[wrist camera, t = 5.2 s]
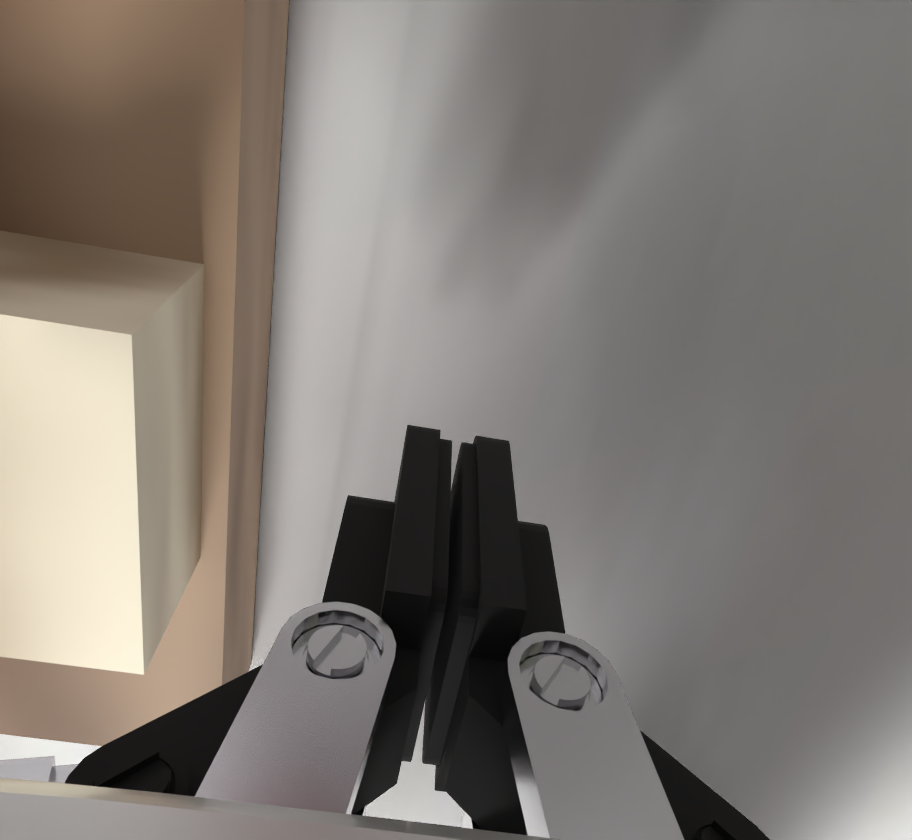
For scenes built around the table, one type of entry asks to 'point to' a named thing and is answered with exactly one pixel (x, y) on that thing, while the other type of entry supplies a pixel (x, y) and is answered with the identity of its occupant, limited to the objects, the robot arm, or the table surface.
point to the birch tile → (97, 449)
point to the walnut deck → (169, 236)
